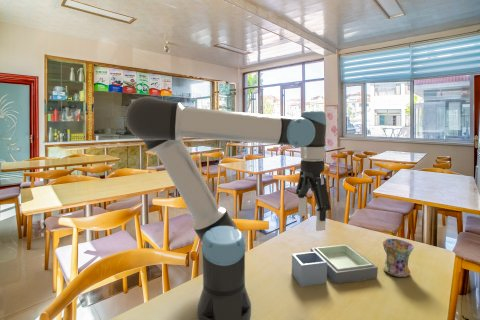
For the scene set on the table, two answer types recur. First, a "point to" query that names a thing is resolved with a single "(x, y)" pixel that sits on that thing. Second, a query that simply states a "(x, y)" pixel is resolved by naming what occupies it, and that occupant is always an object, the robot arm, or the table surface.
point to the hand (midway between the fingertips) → (310, 222)
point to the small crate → (309, 268)
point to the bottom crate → (350, 272)
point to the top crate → (342, 257)
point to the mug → (397, 257)
